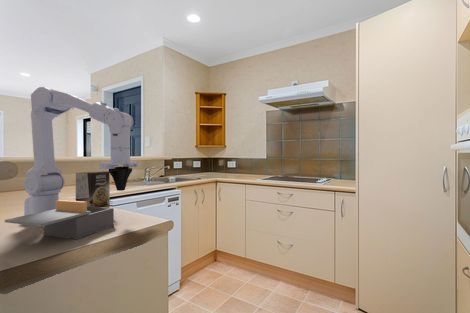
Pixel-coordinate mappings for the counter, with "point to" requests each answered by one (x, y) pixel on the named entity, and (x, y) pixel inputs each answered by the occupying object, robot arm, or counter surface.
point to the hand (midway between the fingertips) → (120, 190)
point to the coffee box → (93, 188)
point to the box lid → (53, 214)
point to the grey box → (82, 224)
